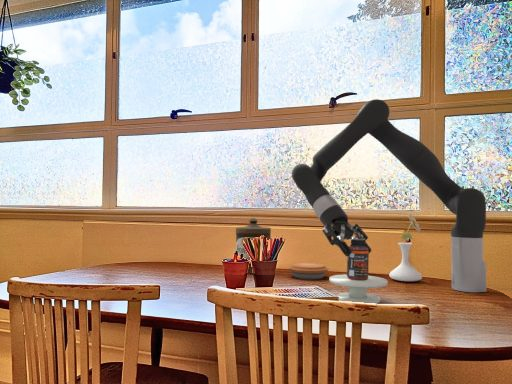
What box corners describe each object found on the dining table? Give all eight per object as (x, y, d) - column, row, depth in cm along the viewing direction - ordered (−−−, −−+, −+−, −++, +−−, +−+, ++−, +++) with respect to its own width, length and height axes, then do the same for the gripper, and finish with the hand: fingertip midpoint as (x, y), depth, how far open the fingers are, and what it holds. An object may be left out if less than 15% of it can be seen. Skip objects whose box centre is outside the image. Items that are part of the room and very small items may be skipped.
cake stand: (382, 295, 117) (382, 275, 117) (392, 308, 101) (392, 285, 101) (328, 293, 119) (328, 273, 120) (329, 305, 104) (330, 282, 104)
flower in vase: (410, 284, 135) (410, 212, 136) (382, 279, 144) (382, 212, 145) (430, 281, 142) (430, 213, 144) (403, 276, 152) (402, 212, 153)
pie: (293, 281, 140) (293, 267, 141) (284, 274, 156) (284, 261, 156) (334, 280, 142) (334, 266, 143) (321, 273, 158) (321, 261, 158)
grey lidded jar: (230, 273, 155) (231, 218, 156) (240, 268, 170) (241, 217, 171) (267, 275, 152) (267, 218, 153) (273, 269, 166) (274, 218, 167)
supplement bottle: (353, 281, 107) (353, 240, 108) (343, 277, 113) (343, 238, 113) (372, 280, 109) (372, 239, 109) (361, 276, 114) (361, 238, 115)
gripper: (319, 203, 114) (350, 246, 104) (351, 204, 122) (382, 244, 112) (307, 221, 118) (335, 263, 108) (339, 221, 126) (368, 260, 116)
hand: (359, 253), depth 110 cm, fingers open, 8 cm apart
